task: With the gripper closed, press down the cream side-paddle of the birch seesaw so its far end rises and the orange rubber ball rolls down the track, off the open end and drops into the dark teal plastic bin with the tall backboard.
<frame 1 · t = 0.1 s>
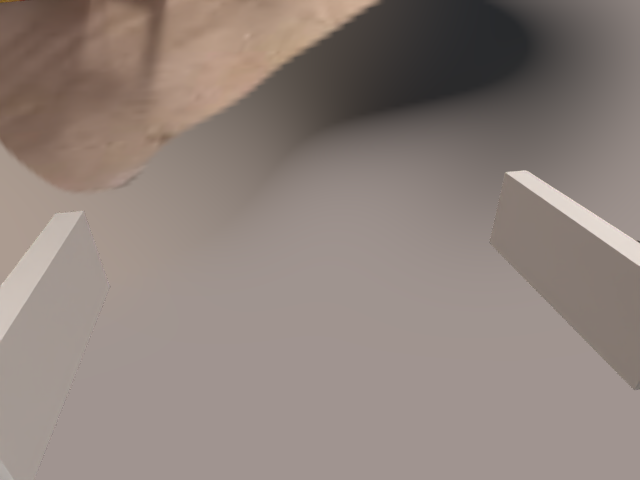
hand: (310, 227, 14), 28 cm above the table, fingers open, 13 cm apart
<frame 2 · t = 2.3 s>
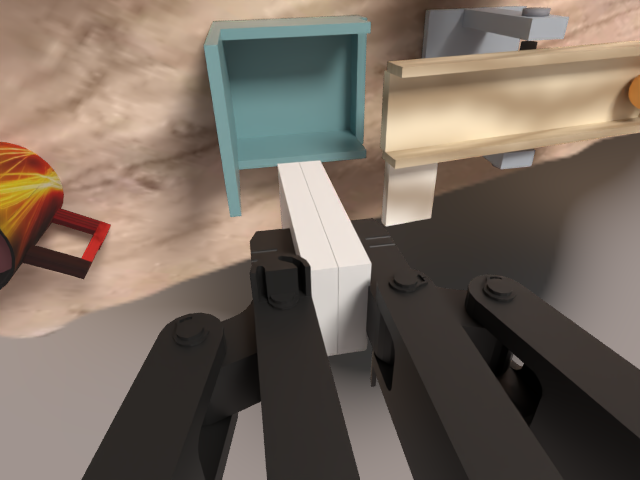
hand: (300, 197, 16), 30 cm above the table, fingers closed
lever: (527, 132, 37), point 12 cm above the table, hinge at -7.0°, touching ball
stand: (464, 72, 45), on the table
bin: (291, 83, 43), on the table
mug: (34, 186, 44), on the table
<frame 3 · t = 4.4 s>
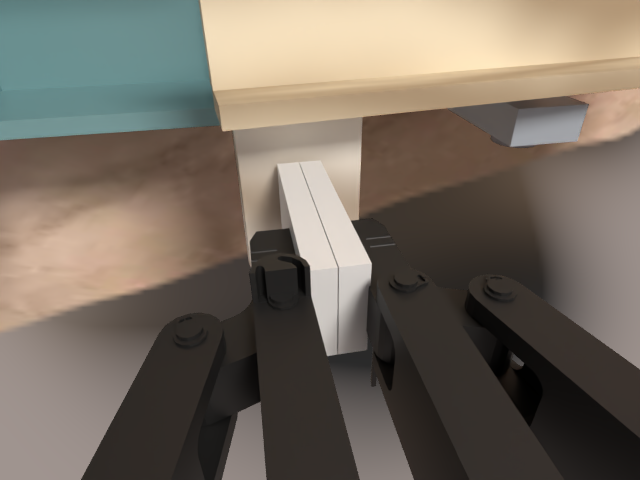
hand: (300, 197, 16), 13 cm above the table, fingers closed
lever: (573, 61, 16), point 12 cm above the table, hinge at -6.5°, touching ball, gripper
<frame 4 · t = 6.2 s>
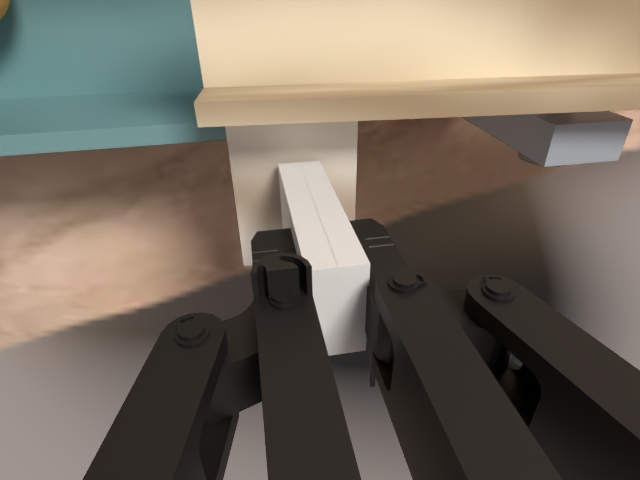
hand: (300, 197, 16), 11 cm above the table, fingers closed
lever: (611, 72, 14), point 12 cm above the table, hinge at 5.4°, touching gripper
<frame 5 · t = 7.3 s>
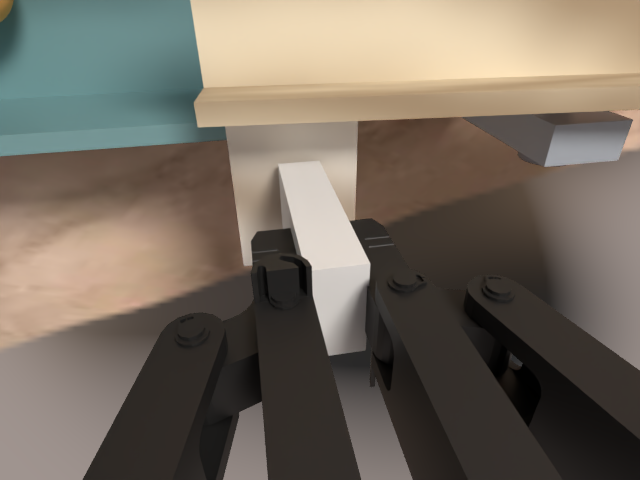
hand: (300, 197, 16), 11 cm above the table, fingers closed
lever: (611, 72, 14), point 12 cm above the table, hinge at 5.4°, touching gripper
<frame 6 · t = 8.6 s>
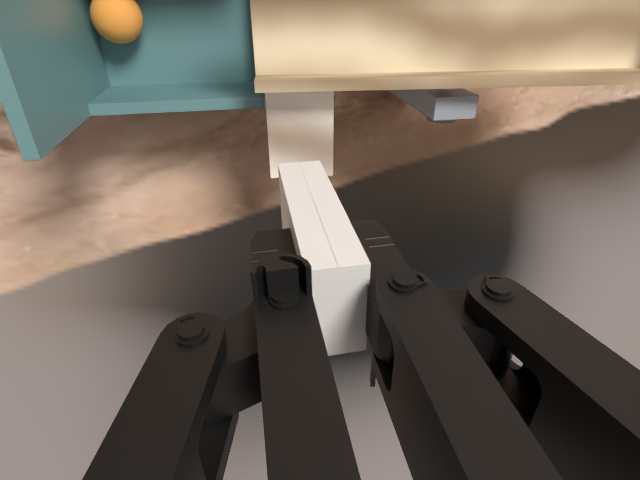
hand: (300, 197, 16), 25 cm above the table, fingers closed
ball: (117, 17, 31), point 2 cm above the table, tilted 62°, touching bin
lever: (464, 70, 28), point 12 cm above the table, hinge at 5.4°
stand: (403, 11, 36), on the table
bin: (177, 15, 33), on the table
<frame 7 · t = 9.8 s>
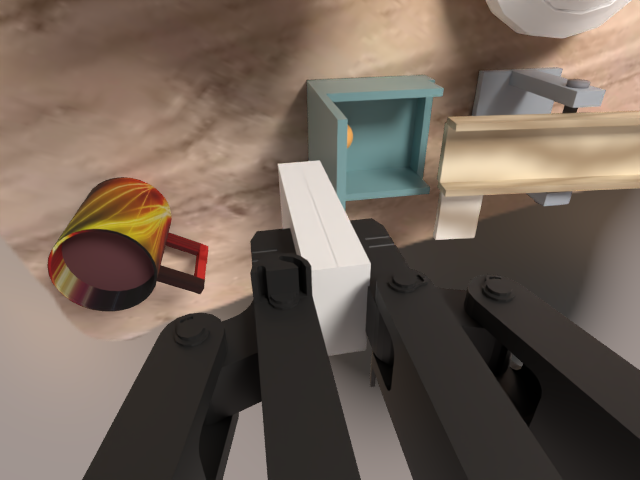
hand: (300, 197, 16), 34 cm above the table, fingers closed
ball: (337, 136, 48), point 2 cm above the table, tilted 57°, touching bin
lever: (564, 177, 45), point 12 cm above the table, hinge at 5.4°
stand: (507, 119, 53), on the table
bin: (364, 128, 51), on the table
mug: (148, 214, 52), on the table
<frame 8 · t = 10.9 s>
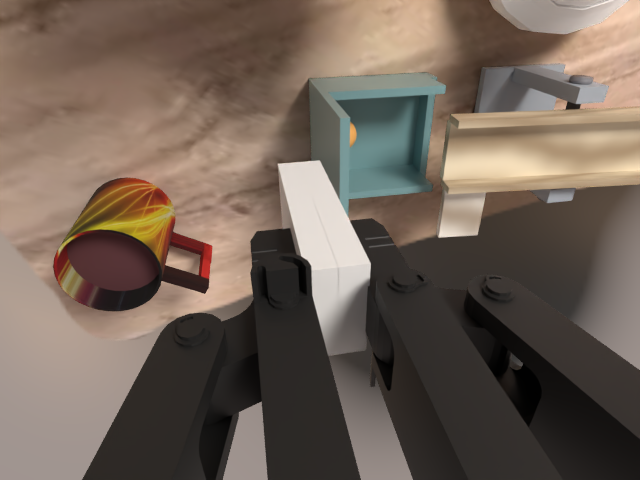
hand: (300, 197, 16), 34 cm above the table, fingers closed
ball: (341, 134, 48), point 2 cm above the table, tilted 53°, touching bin
lever: (568, 174, 45), point 12 cm above the table, hinge at 5.4°
stand: (510, 116, 53), on the table
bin: (366, 126, 51), on the table
mug: (152, 214, 52), on the table
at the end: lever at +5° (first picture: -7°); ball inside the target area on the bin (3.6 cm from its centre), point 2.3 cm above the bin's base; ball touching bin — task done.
